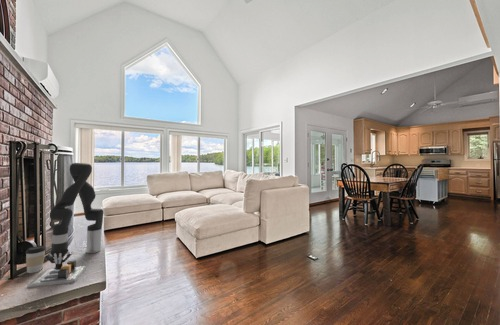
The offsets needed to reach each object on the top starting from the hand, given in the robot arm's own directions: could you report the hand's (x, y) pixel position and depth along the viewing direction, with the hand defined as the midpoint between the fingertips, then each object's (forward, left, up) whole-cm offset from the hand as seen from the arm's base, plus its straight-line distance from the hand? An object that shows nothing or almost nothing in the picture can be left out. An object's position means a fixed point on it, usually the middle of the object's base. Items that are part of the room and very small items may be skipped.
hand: (58, 269), depth 131 cm
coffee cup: (-13, -18, -5) cm, 22 cm away
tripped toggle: (0, +4, -3) cm, 5 cm away
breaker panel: (0, 0, -5) cm, 5 cm away
